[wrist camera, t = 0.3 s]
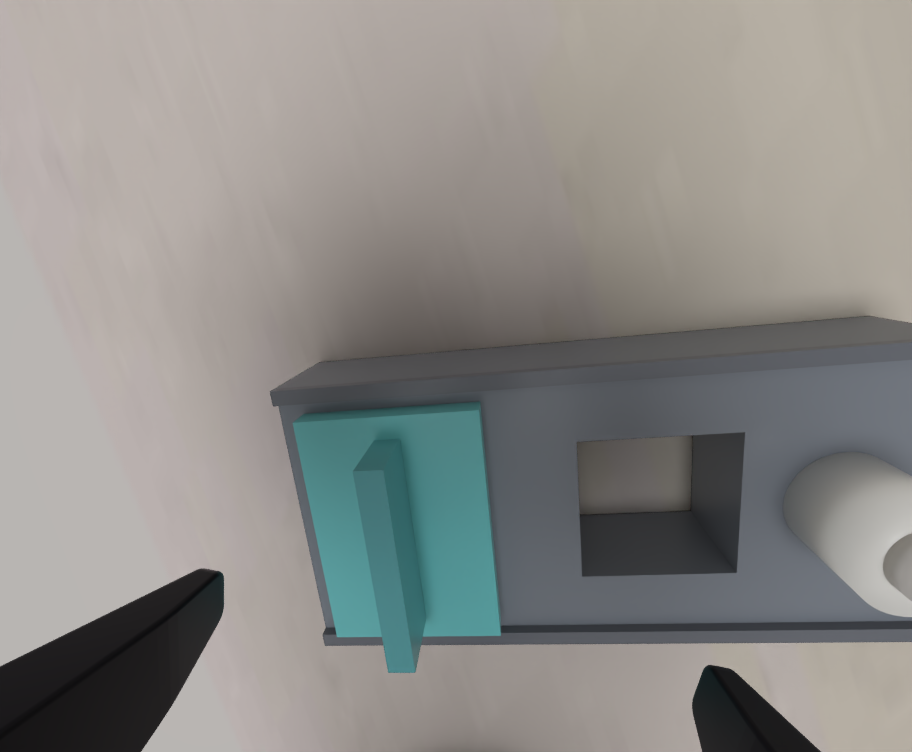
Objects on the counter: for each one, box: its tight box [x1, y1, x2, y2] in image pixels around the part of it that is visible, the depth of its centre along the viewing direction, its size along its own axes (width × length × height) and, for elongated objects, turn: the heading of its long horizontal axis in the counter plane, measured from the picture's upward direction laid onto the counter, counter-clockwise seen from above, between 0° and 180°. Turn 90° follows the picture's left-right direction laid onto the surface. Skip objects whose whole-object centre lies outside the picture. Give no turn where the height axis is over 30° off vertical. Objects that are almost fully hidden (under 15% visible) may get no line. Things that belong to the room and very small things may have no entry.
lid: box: [293, 401, 501, 673], centre depth 17 cm, size 10×7×4 cm
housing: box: [270, 316, 912, 646], centre depth 20 cm, size 12×24×5 cm, turn 96°
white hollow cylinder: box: [783, 452, 912, 617], centre depth 15 cm, size 4×4×4 cm
